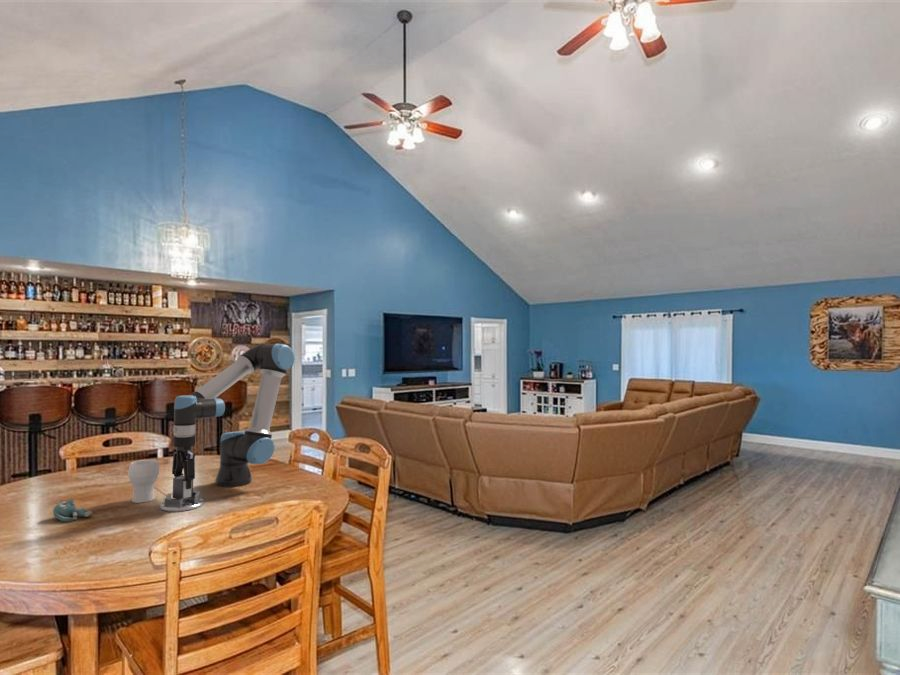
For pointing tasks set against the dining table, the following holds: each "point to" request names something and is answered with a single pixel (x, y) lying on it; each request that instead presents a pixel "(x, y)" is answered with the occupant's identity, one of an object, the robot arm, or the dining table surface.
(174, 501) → the grey stand base
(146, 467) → the cup
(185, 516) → the dining table surface
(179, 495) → the gray cube
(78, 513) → the stuffed animal
